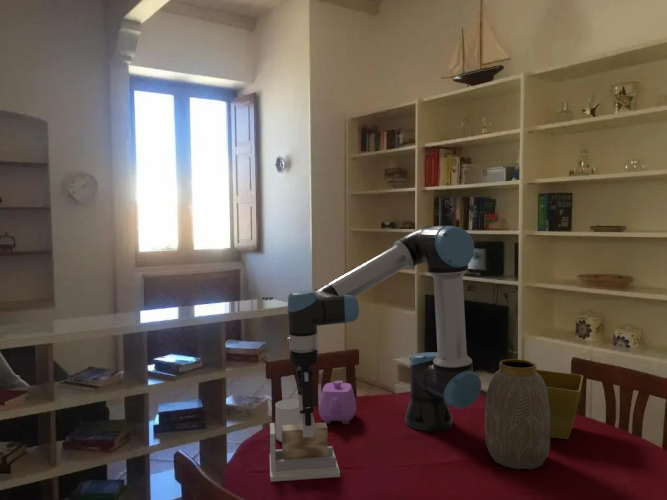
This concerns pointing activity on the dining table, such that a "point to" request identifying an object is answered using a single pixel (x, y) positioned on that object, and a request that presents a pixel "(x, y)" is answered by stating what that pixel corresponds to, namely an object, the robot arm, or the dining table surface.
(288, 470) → the white stand
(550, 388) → the flower pot
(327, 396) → the teapot
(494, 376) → the vase
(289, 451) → the door panel
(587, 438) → the dining table surface
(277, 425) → the mug
